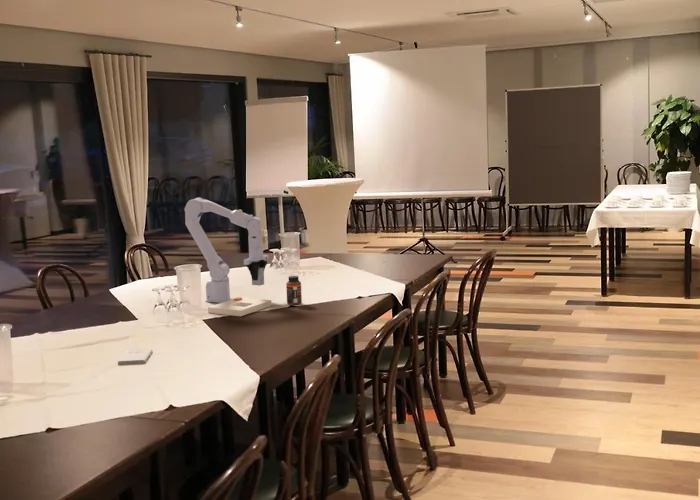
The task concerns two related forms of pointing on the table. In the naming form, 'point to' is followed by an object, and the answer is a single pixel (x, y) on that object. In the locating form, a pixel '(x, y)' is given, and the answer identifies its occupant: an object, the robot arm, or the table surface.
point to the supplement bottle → (294, 291)
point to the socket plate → (239, 306)
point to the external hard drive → (135, 356)
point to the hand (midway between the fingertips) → (257, 279)
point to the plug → (259, 277)
